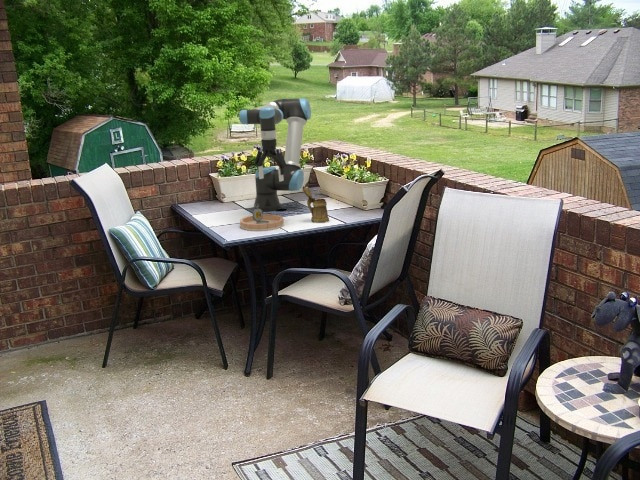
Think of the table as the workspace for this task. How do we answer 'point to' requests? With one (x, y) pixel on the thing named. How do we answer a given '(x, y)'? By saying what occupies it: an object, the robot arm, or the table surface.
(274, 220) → the round dish
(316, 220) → the wooden mug
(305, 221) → the table surface
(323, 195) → the table surface
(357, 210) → the table surface
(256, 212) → the pocket watch
